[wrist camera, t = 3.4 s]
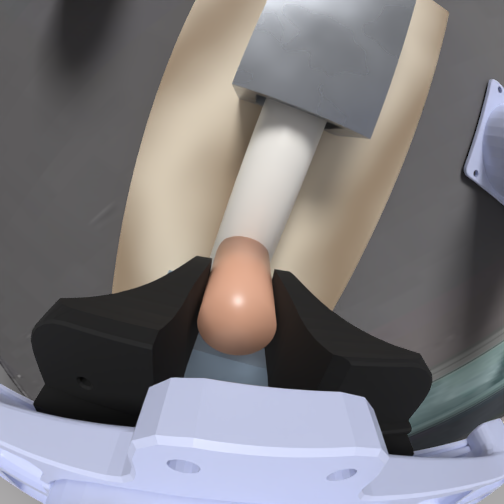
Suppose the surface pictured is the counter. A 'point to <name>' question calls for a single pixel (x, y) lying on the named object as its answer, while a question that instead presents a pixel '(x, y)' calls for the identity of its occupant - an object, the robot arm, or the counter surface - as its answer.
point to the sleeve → (326, 59)
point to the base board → (234, 148)
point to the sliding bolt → (256, 230)
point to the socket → (226, 365)
